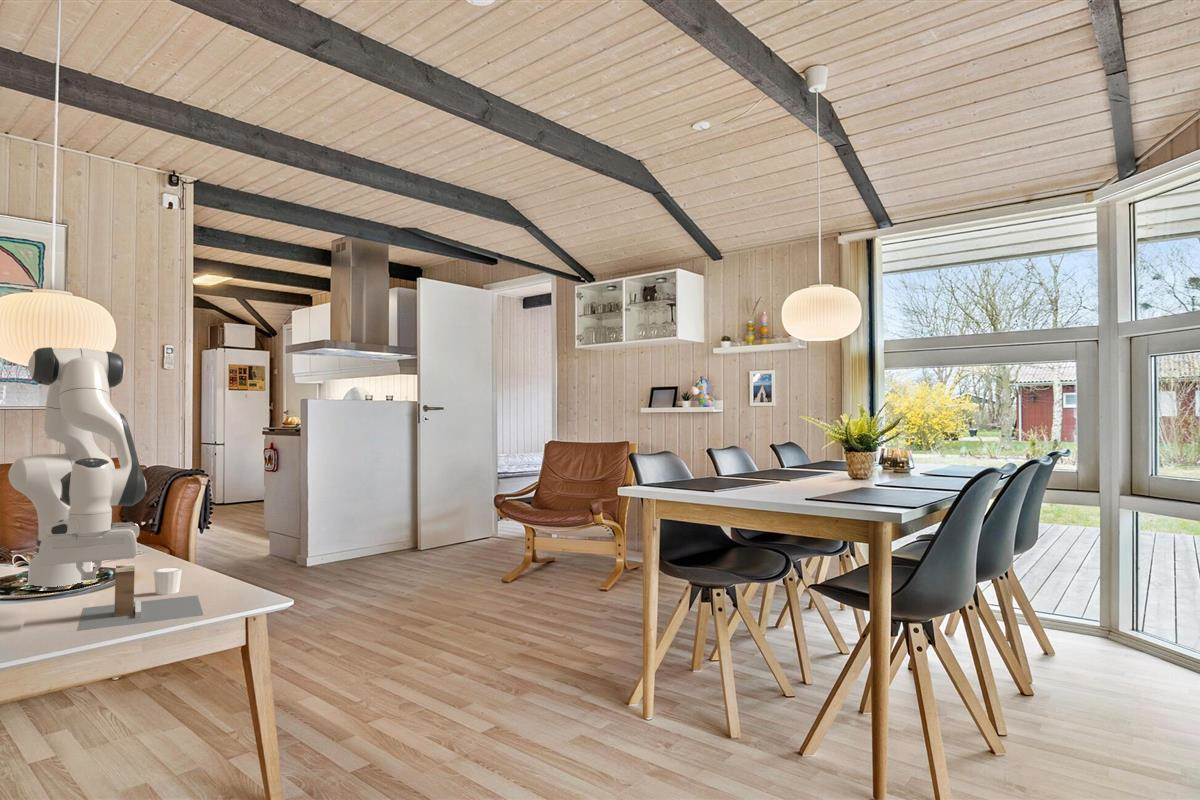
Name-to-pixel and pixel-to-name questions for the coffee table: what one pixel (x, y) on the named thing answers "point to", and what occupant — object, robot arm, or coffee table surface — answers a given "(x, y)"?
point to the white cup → (167, 580)
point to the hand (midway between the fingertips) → (88, 579)
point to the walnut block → (124, 590)
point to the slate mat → (141, 612)
